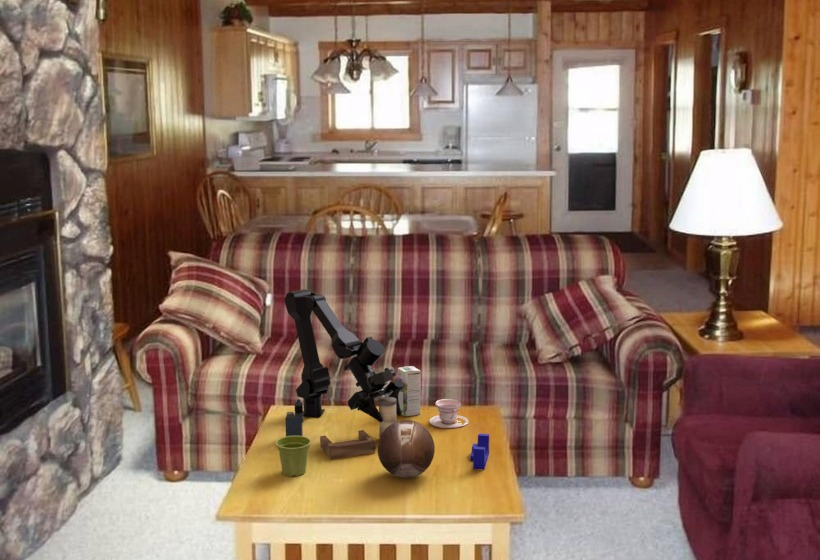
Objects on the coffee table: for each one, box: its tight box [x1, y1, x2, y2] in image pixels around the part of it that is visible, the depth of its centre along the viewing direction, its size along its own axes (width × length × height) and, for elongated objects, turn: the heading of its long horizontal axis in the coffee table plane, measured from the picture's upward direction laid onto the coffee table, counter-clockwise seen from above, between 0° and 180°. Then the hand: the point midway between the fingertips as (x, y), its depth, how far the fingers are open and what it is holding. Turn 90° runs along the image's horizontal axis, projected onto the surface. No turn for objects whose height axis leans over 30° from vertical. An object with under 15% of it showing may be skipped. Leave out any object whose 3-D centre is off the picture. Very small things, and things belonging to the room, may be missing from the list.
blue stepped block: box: [470, 433, 490, 471], centre depth 275 cm, size 12×4×6 cm, turn 169°
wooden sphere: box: [377, 419, 436, 479], centre depth 264 cm, size 15×15×15 cm
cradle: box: [319, 429, 377, 460], centre depth 284 cm, size 10×13×3 cm
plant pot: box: [275, 435, 312, 477], centre depth 268 cm, size 9×9×9 cm
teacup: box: [428, 398, 469, 429], centre depth 307 cm, size 12×12×6 cm
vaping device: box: [284, 398, 305, 437], centre depth 292 cm, size 3×5×12 cm, turn 89°
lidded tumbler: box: [378, 396, 397, 438], centre depth 292 cm, size 5×5×12 cm
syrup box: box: [397, 365, 422, 417], centre depth 314 cm, size 6×6×14 cm
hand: (391, 418), depth 291 cm, fingers open, 7 cm apart
